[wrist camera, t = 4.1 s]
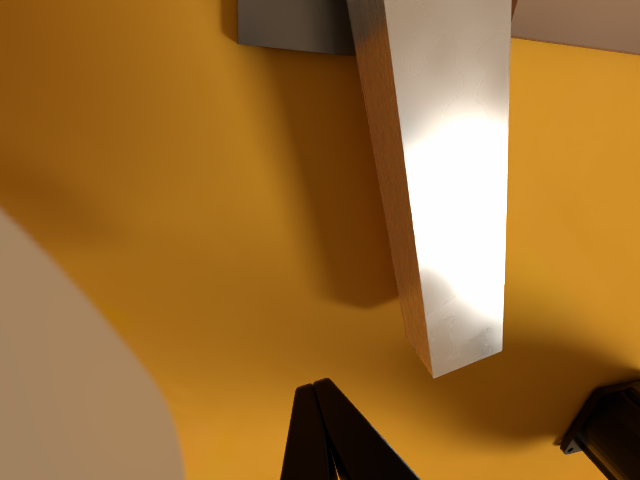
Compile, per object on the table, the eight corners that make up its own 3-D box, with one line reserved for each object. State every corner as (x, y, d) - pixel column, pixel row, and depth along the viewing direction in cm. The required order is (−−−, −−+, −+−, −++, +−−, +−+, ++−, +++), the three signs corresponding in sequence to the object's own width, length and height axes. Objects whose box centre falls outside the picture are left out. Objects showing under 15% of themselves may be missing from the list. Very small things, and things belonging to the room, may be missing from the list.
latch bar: (290, -257, 7) (323, -394, 5) (448, -293, 7) (547, -437, 5) (401, 338, 15) (431, 385, 13) (471, 311, 15) (510, 352, 13)
